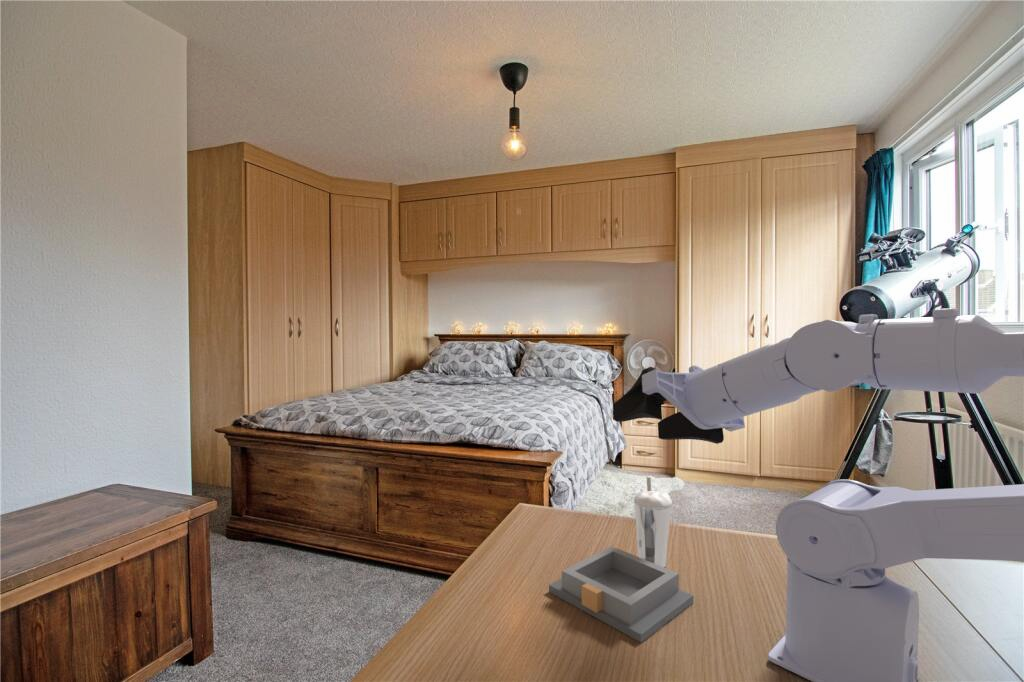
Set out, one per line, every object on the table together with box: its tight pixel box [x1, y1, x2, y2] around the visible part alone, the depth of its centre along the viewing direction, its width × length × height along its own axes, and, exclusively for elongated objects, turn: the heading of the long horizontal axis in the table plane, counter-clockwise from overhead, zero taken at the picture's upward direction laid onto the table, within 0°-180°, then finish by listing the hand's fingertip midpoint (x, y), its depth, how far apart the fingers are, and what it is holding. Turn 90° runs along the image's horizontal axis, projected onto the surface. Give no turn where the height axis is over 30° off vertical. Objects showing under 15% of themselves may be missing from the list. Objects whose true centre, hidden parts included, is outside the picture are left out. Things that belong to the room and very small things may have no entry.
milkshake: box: [633, 477, 673, 568], centre depth 63 cm, size 5×5×10 cm
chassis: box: [548, 545, 695, 644], centre depth 55 cm, size 12×10×3 cm
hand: (638, 422), depth 60 cm, fingers open, 7 cm apart
